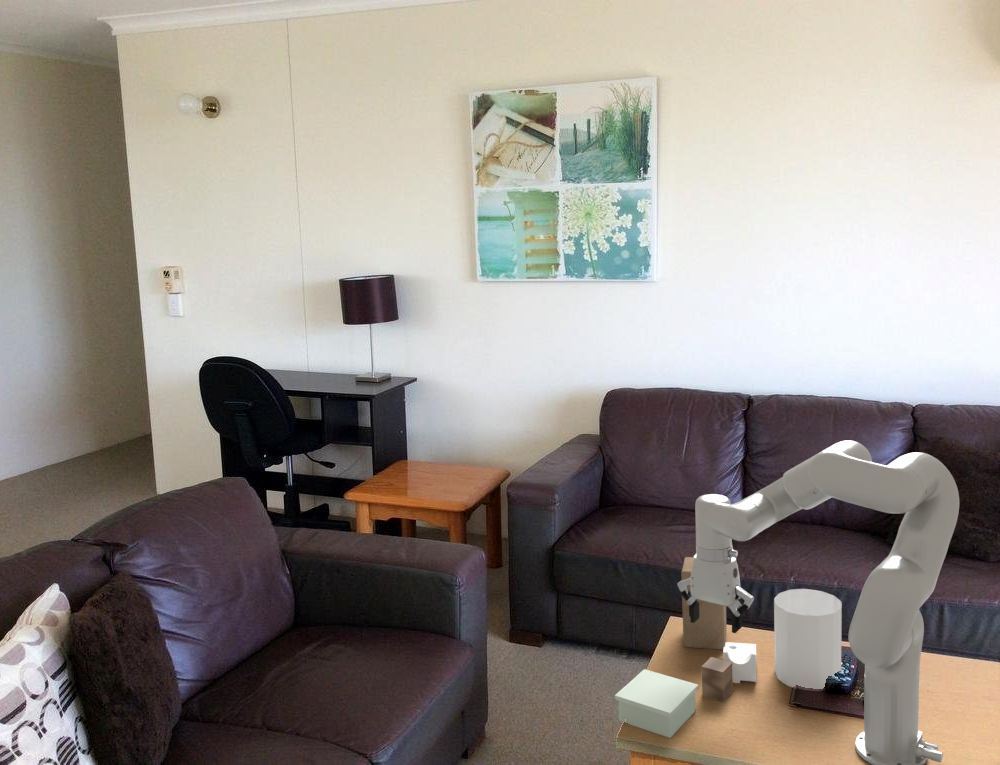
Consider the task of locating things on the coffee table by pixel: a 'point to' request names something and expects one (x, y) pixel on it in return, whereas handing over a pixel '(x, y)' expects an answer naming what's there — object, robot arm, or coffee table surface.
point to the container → (807, 637)
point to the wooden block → (703, 620)
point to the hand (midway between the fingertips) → (715, 625)
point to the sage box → (657, 702)
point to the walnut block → (717, 679)
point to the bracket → (741, 661)
